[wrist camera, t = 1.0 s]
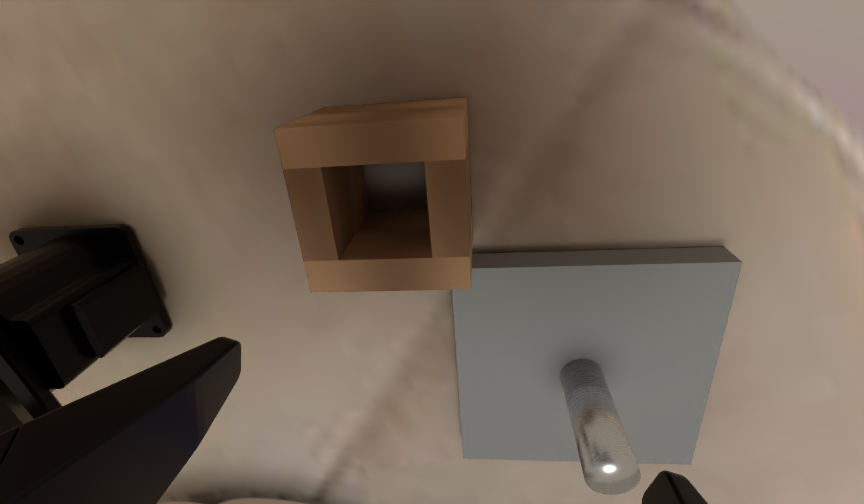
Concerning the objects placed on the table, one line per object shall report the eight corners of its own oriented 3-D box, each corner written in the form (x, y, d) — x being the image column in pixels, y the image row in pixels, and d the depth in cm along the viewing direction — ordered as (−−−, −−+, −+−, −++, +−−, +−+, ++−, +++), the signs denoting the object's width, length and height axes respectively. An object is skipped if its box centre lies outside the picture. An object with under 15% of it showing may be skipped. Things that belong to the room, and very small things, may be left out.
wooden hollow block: (346, 238, 21) (310, 292, 16) (323, 107, 18) (273, 129, 14) (472, 234, 20) (471, 289, 16) (466, 97, 18) (463, 116, 13)
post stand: (463, 436, 26) (459, 563, 20) (452, 254, 21) (441, 347, 14) (679, 441, 24) (748, 579, 18) (723, 246, 19) (842, 345, 13)
